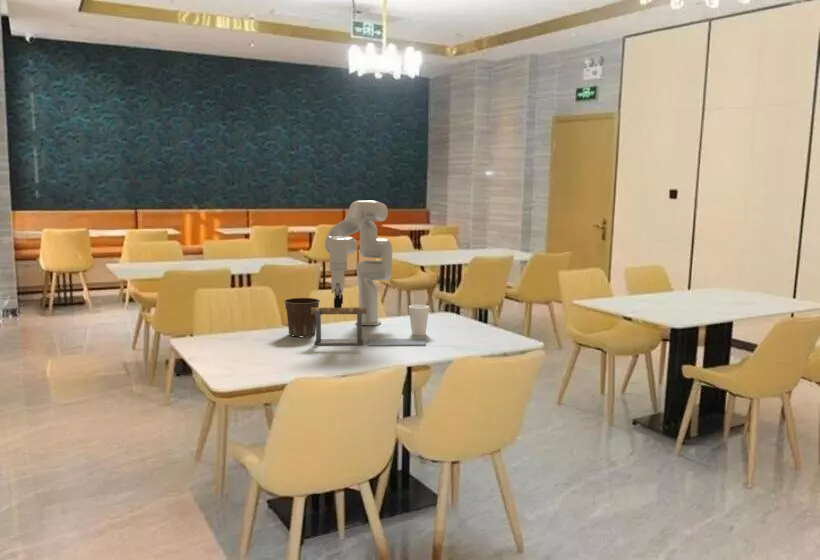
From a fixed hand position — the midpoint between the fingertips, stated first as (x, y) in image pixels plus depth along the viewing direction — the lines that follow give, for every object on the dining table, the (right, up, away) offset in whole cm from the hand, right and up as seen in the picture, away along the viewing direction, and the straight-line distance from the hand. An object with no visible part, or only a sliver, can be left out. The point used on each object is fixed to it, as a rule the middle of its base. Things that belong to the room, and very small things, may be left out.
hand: (338, 305), depth 312 cm
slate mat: (+26, -17, +4) cm, 31 cm away
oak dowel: (0, -4, +1) cm, 4 cm away
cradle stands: (0, -17, +3) cm, 17 cm away
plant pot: (-19, -14, +20) cm, 31 cm away
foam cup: (+35, -14, +22) cm, 44 cm away
